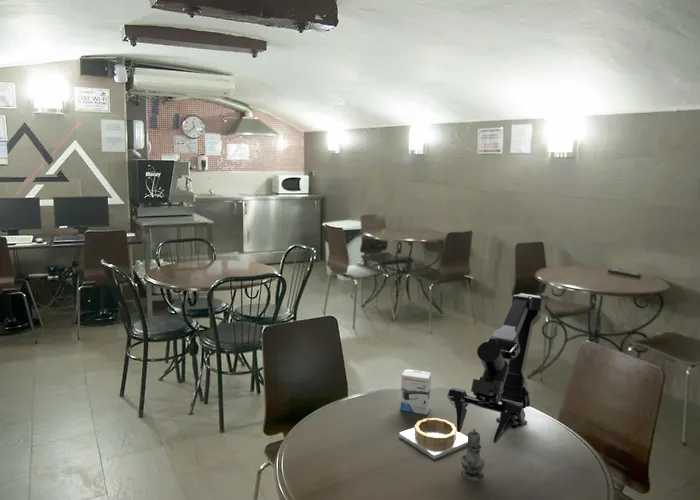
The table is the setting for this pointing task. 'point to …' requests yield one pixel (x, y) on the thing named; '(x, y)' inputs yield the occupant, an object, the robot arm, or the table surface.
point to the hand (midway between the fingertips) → (476, 437)
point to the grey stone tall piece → (472, 458)
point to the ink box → (415, 391)
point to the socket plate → (434, 449)
